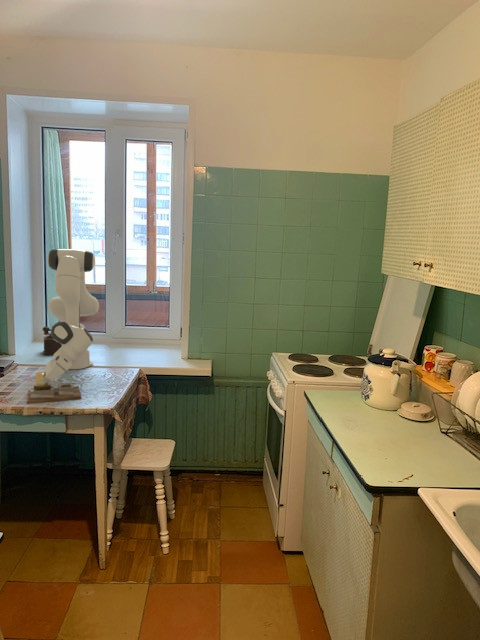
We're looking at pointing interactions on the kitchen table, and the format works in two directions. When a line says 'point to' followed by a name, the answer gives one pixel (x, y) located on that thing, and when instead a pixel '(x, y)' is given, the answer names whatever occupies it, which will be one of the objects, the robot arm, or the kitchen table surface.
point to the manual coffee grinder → (50, 343)
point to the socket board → (54, 393)
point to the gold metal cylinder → (38, 378)
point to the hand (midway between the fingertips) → (40, 381)
